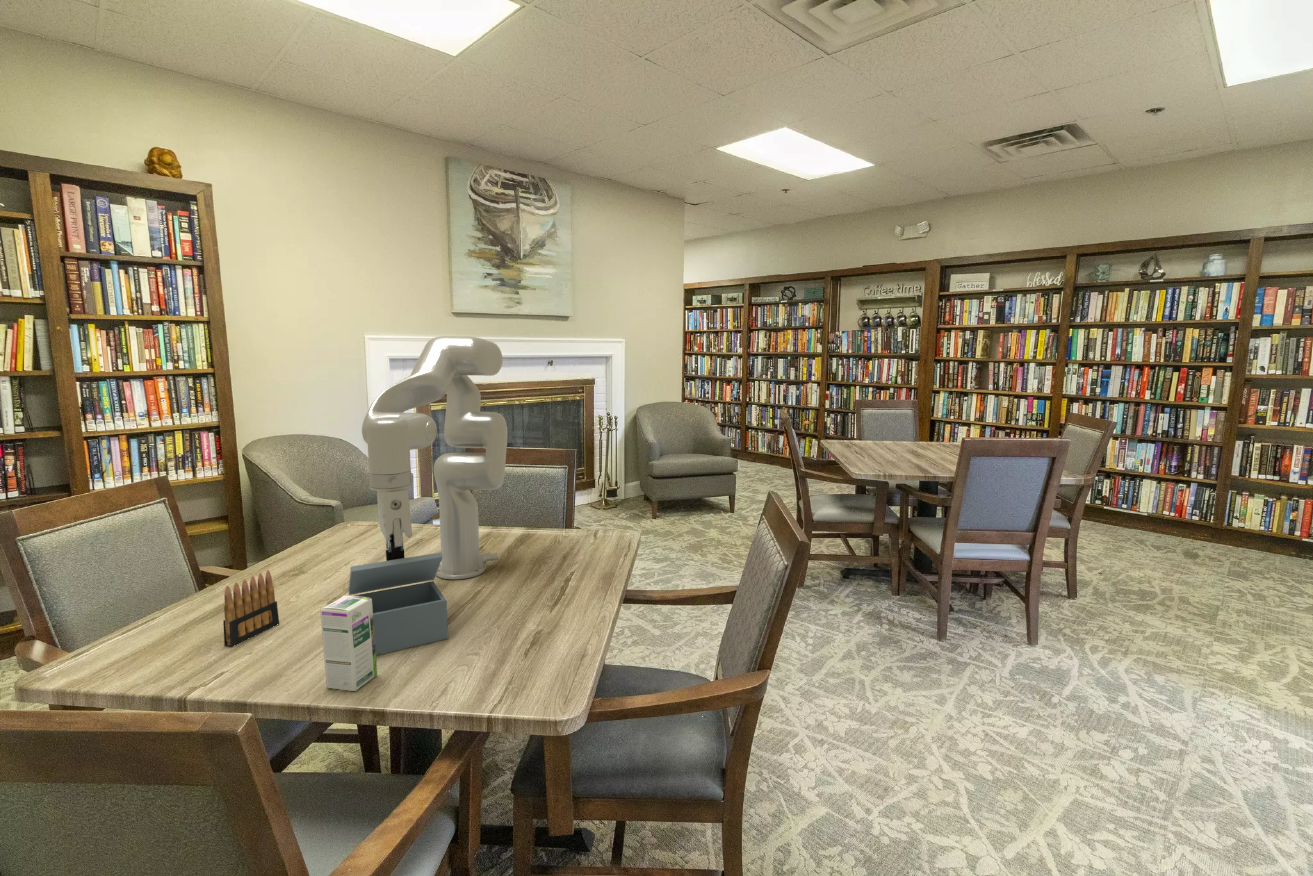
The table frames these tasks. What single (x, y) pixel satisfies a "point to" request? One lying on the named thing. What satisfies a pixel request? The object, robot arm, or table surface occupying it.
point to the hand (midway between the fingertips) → (396, 568)
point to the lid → (393, 573)
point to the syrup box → (348, 642)
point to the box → (408, 616)
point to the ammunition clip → (249, 610)
